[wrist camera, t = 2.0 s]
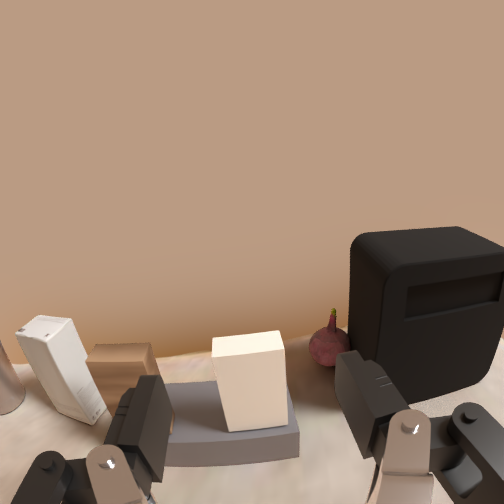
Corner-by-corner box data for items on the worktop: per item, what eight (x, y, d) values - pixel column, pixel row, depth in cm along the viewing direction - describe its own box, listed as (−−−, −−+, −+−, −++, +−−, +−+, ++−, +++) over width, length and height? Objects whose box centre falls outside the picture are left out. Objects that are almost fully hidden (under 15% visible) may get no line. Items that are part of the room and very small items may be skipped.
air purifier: (446, 332, 44) (462, 222, 38) (486, 380, 30) (521, 249, 25) (343, 350, 46) (346, 230, 40) (364, 414, 32) (384, 266, 26)
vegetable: (347, 379, 39) (353, 321, 36) (306, 377, 41) (305, 320, 38) (349, 355, 44) (353, 299, 41) (311, 353, 46) (311, 299, 43)
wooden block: (288, 424, 27) (284, 348, 24) (228, 431, 26) (211, 357, 23) (283, 405, 30) (278, 330, 27) (228, 411, 29) (212, 338, 26)
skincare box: (112, 402, 37) (76, 317, 33) (92, 428, 31) (46, 340, 27) (74, 390, 39) (40, 311, 34) (54, 412, 33) (12, 330, 29)
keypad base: (299, 456, 27) (299, 431, 26) (127, 463, 26) (111, 439, 25) (285, 399, 37) (284, 372, 35) (142, 409, 36) (131, 384, 35)
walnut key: (171, 433, 26) (142, 361, 23) (120, 432, 26) (84, 361, 23) (175, 414, 29) (150, 342, 26) (126, 413, 29) (95, 344, 26)
